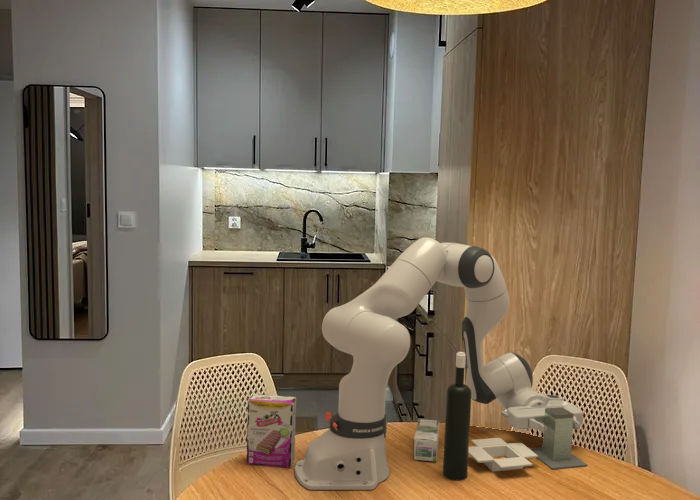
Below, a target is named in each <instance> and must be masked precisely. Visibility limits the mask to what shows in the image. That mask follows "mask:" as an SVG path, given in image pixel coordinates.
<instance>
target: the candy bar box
mask: <svg viewBox="0 0 700 500" xmlns="http://www.w3.org/2000/svg"><path fill="white" fill-rule="evenodd" d="M296 415H297V397H296V396H289V395H287V396H285V395H273V394H272V395H271V394H260V393H259V394H258V393H252V394H251V396H250V397H248V399H247V423H246V424H247V428H246V429H247V430H246V431H247V433H246V465H250V466H251V465H253V466H263V467H275V468H276V467H277V468H289V469H291V467H292V465H293V464H294V461H295V454H296V453H295V452H296V449H295V448H296V422H297V421H296V418H297V416H296Z"/></svg>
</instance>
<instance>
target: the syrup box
mask: <svg viewBox="0 0 700 500" xmlns="http://www.w3.org/2000/svg"><path fill="white" fill-rule="evenodd" d="M417 419H418V420H417V424H416V430H415V433H414V438H413V439H414V441H413V443H414V447H413V448H414V450H413V454H414V455H413V456H414V457H413V458H414V461H426V462H437V459H438V451H439V443H440V420H438V419H437V420H436V419H423V418H417Z"/></svg>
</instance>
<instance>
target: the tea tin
mask: <svg viewBox="0 0 700 500" xmlns="http://www.w3.org/2000/svg"><path fill="white" fill-rule="evenodd" d="M573 415H574V414H573V413H571V412H569V411H568V410H566V409H564V408H563V407H557V408H545V418H544V423H545V424H546V425H547V431H546V432H542V433H543V434H542V435H543V436H542V447H543V448H542V453H543V454H544V455H545V456H547V457H548V458H549V459H551V460H552V461H561V460H570V457H571V453H572V443H573V442H572V438H573V430H574V429H573Z"/></svg>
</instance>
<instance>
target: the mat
mask: <svg viewBox="0 0 700 500" xmlns="http://www.w3.org/2000/svg"><path fill="white" fill-rule="evenodd" d="M528 448H529V449H530V450H531V451H533V452H534V453H535V454H537V455H538V457H536V459H537V460H539V461H541V462H542V463H543V464H544V465H545V466H546V467H548V468H549V469H550V470H552V471H553V470H563V469H572V468H573V469H574V468H583V467H588V464H587V463H586V462H584V461H583V460H581V458H579V457H578V456H576V455H574V454H573V453H572V452H571V457H570V460H561V461H552V460H551V459H549V458H548V457H547V456H545V455H544V454H543V453H542V448H543V446H540V447H539V446H538V447H528Z"/></svg>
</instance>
